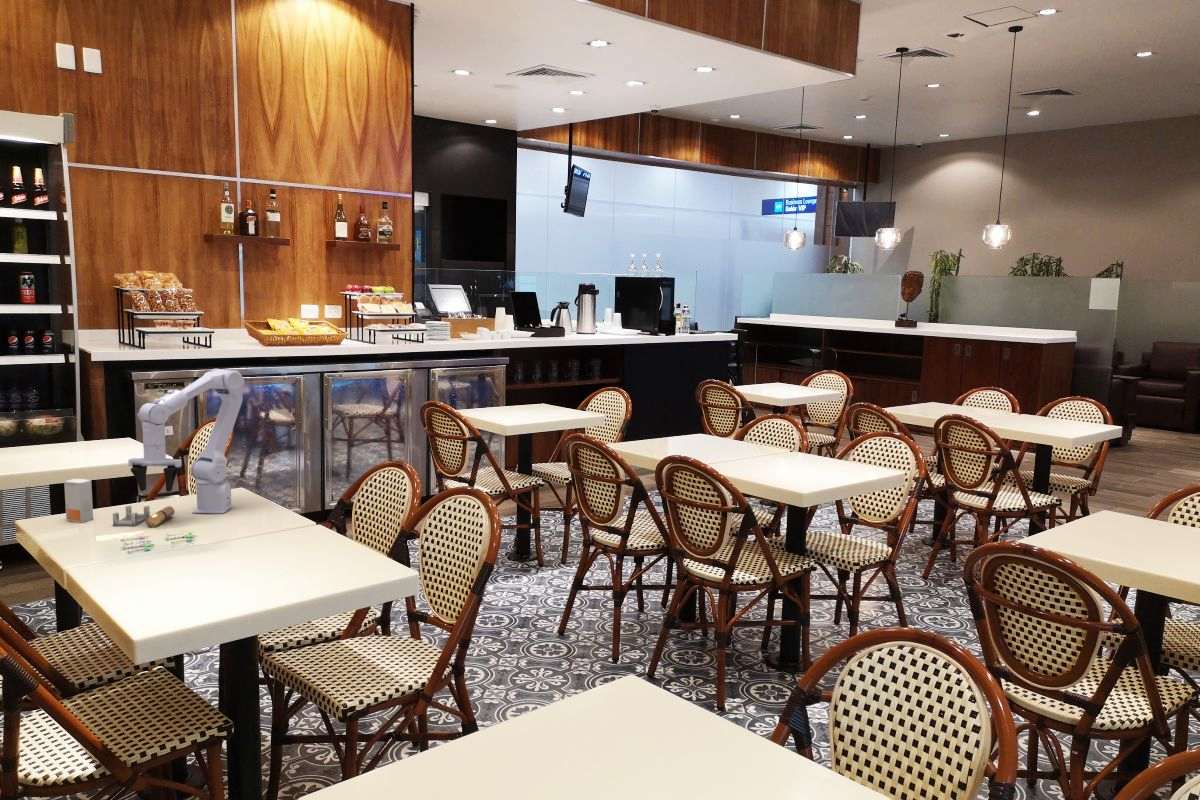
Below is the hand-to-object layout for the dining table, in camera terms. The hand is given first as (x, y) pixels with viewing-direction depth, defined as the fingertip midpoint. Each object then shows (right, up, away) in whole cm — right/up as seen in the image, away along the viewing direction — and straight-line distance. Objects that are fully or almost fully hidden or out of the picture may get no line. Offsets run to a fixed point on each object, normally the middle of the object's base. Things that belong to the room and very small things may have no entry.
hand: (156, 490), depth 262 cm
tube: (+1, -9, +2) cm, 10 cm away
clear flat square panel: (+11, -13, -18) cm, 25 cm away
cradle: (-8, -9, +1) cm, 12 cm away
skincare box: (-23, -9, +2) cm, 25 cm away
